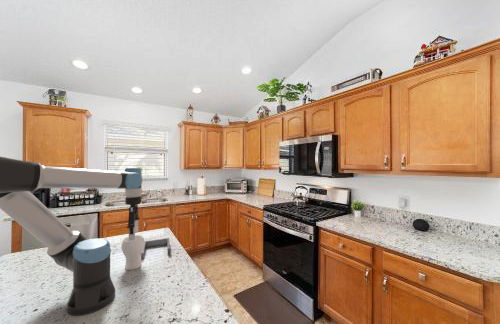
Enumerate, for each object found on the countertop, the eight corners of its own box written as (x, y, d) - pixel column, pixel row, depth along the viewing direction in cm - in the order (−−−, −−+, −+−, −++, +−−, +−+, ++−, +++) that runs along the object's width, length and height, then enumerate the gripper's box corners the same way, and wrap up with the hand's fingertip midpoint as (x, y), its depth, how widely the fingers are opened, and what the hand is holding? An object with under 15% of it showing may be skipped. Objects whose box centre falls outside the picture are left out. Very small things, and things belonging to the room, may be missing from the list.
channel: (169, 255, 123) (169, 248, 123) (140, 259, 117) (140, 252, 117) (169, 243, 141) (169, 237, 141) (144, 247, 135) (144, 241, 135)
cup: (148, 262, 114) (148, 235, 114) (136, 272, 104) (136, 242, 104) (130, 261, 115) (130, 234, 116) (116, 271, 105) (116, 241, 105)
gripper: (138, 199, 100) (139, 242, 100) (143, 192, 123) (143, 228, 123) (120, 200, 97) (121, 245, 97) (129, 193, 120) (129, 229, 120)
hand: (133, 235), depth 110 cm, fingers open, 13 cm apart
